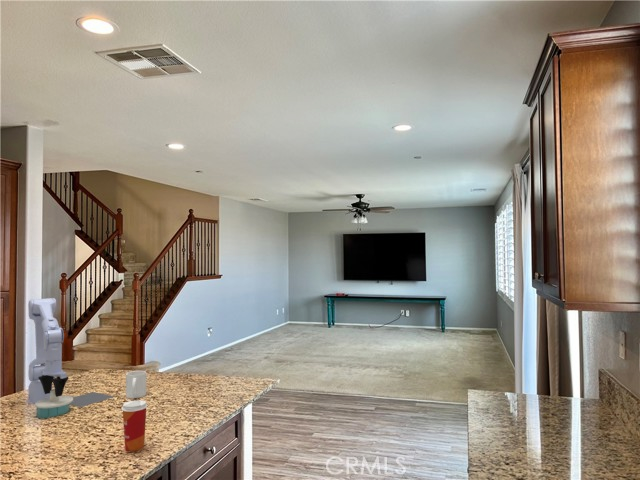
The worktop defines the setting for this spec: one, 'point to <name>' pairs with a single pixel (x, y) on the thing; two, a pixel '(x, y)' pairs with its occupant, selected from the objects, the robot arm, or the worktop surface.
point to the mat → (89, 399)
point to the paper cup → (134, 424)
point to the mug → (136, 384)
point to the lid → (53, 401)
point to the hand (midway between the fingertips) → (53, 394)
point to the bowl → (52, 411)
